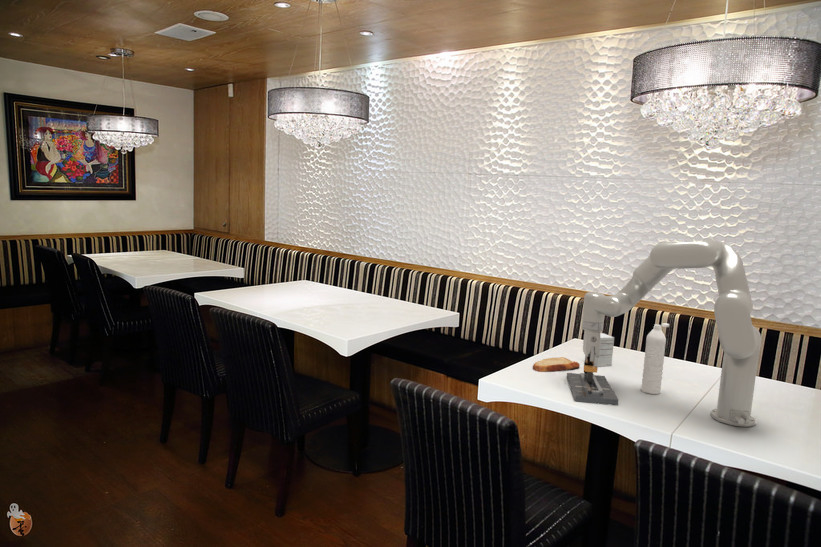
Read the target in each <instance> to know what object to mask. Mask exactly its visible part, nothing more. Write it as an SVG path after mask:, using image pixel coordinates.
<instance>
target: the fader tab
mask: <svg viewBox="0 0 821 547" xmlns="http://www.w3.org/2000/svg"><path fill="white" fill-rule="evenodd" d="M598 368H599V367H596V366H595V365H594V366H588V365H584V364H583V372H584V371H585V372H587V379H586V380H587V382H592V380H593V374H594V373H598V370H599V369H598Z"/></svg>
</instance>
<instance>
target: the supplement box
mask: <svg viewBox="0 0 821 547" xmlns="http://www.w3.org/2000/svg"><path fill="white" fill-rule="evenodd" d="M614 344H615V336H612V335H608V334H606V333H604V332H600V357H599V358H597V357H596V355H595V357H594V366H596V367H597V368H603V367H605V368H606V366H607V367H612V364H613V363H612V362H613V353H614Z"/></svg>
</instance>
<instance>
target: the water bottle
mask: <svg viewBox="0 0 821 547" xmlns="http://www.w3.org/2000/svg"><path fill="white" fill-rule="evenodd" d="M653 325H654V326H653V329H651V331H649V332H648V334H647V335H646V339H645V350H644V360H643V361H644V362H643V370H642V380H641V386H640V387H641V392H643V393H646V394H650V395H659V394H660V393H661V390H662V388H661V387H662V380H663V379H662V378H663V377H662V376H663V370H664V360H665V350H666V345H667V344H666V343H667V338H666V335H665V334H664V331H662V330H663V329H662V327H664V328H670V323H666V322H665V323H664V322H662V323H661V324H653Z"/></svg>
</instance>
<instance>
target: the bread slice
mask: <svg viewBox="0 0 821 547" xmlns="http://www.w3.org/2000/svg"><path fill="white" fill-rule="evenodd" d="M580 365H581V364H580V363H579V362H578V361H575V360H570V359H568V358H566V357H564V356H561V357H550V358H544V359H541V360H538V361H535V363H533V365H532V370H533V371H535V372H538V373H552V372H553V373H554V372H565V371H569V370H570V371H571V370H574V369H578V368H580Z"/></svg>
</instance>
